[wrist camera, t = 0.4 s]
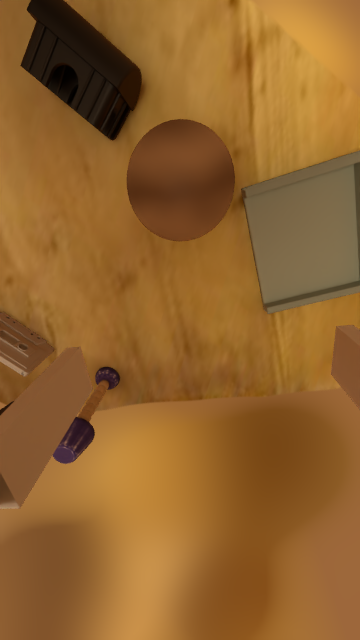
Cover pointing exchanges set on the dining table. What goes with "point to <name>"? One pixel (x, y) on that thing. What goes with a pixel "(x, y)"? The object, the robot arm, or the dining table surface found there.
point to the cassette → (21, 346)
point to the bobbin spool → (180, 180)
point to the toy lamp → (85, 419)
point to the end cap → (81, 66)
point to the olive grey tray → (306, 233)
